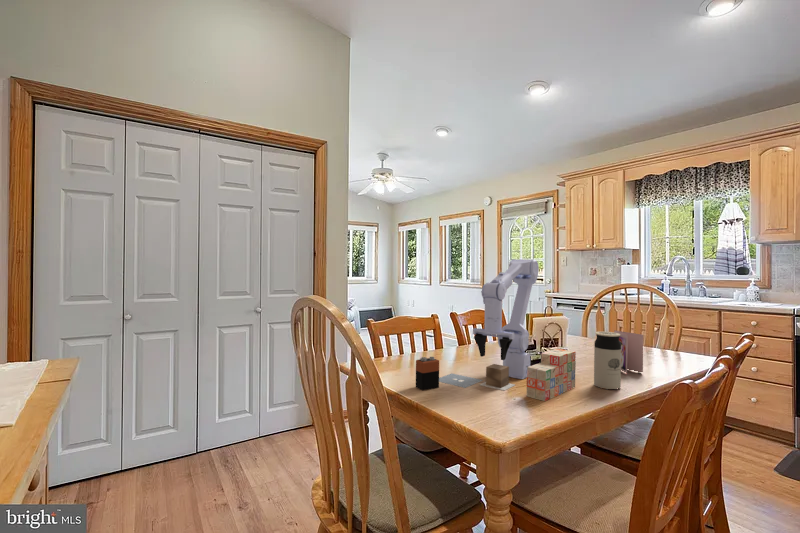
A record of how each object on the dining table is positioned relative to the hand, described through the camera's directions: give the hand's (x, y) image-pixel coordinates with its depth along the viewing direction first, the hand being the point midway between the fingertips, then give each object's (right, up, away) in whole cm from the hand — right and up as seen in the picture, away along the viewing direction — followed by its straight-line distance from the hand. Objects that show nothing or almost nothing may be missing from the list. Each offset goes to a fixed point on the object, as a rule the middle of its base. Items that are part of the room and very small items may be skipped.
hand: (492, 357), depth 137 cm
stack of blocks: (+17, -10, -8) cm, 21 cm away
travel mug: (+38, -10, -2) cm, 39 cm away
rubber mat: (+1, -9, -2) cm, 9 cm away
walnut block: (+1, -9, -2) cm, 9 cm away
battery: (-23, -9, -5) cm, 25 cm away
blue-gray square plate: (-11, -9, +4) cm, 15 cm away
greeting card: (+56, -10, +18) cm, 60 cm away
